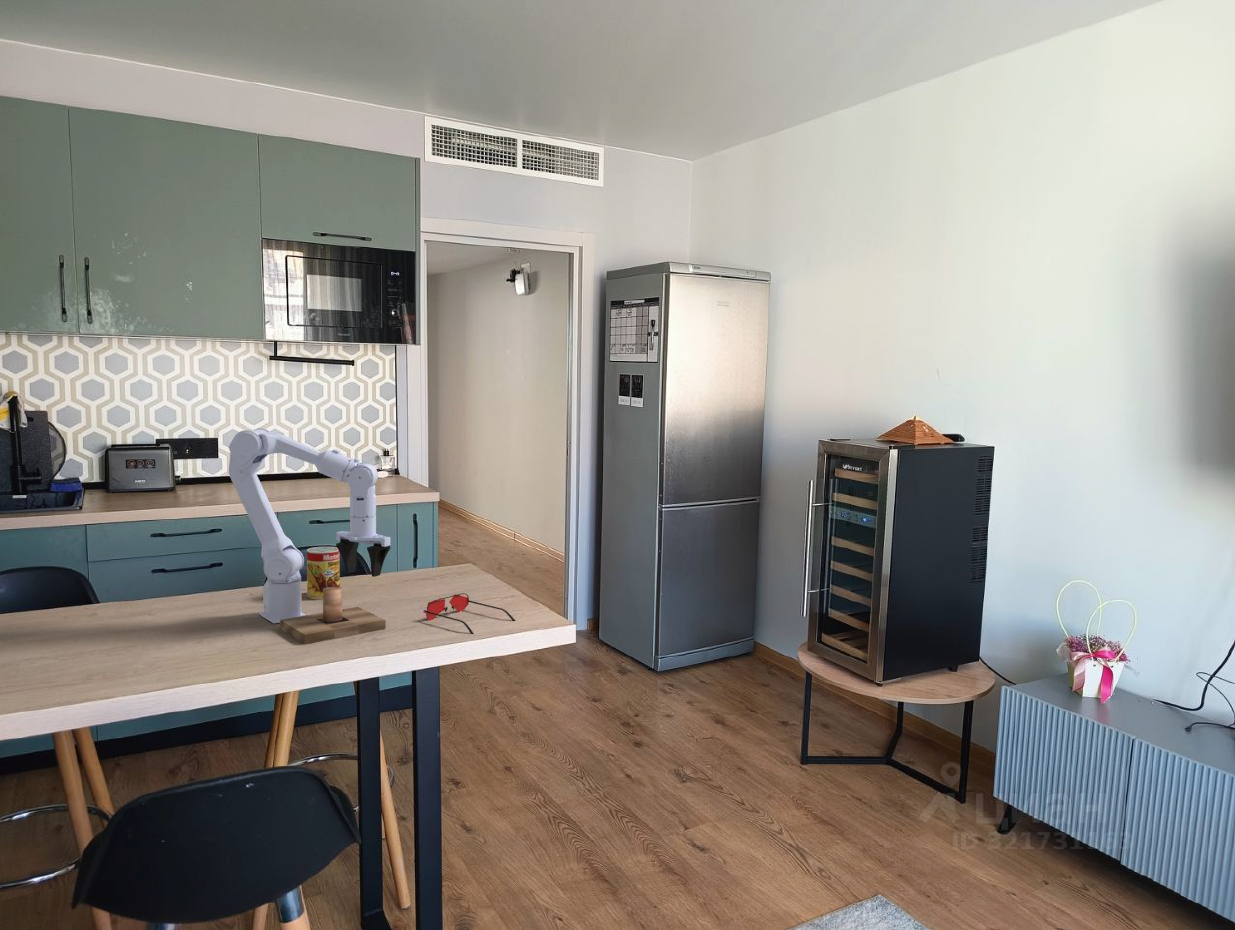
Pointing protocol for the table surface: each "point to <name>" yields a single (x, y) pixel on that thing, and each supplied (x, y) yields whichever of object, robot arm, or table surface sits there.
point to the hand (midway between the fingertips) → (363, 573)
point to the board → (332, 625)
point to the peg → (332, 605)
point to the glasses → (457, 603)
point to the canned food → (322, 570)
